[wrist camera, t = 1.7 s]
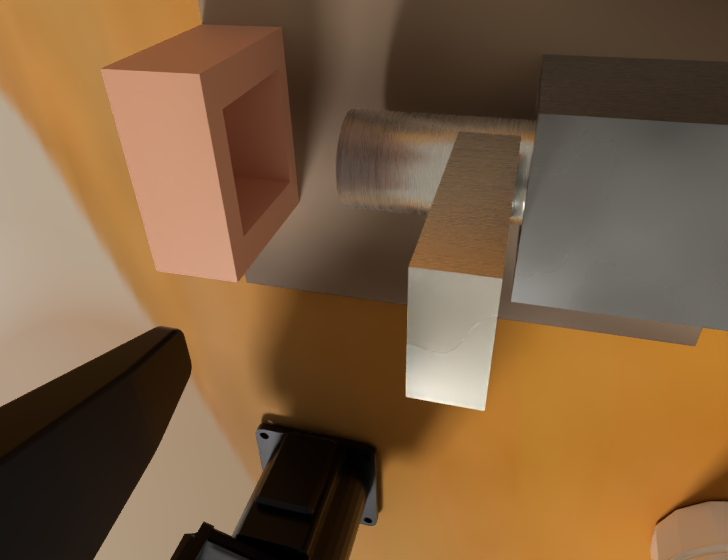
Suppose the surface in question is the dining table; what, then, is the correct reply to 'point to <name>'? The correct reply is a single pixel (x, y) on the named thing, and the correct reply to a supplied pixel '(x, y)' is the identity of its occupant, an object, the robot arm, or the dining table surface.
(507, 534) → the dining table surface
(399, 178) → the tube
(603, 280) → the sleeve
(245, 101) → the socket block
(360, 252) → the grey base plate
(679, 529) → the white cup
